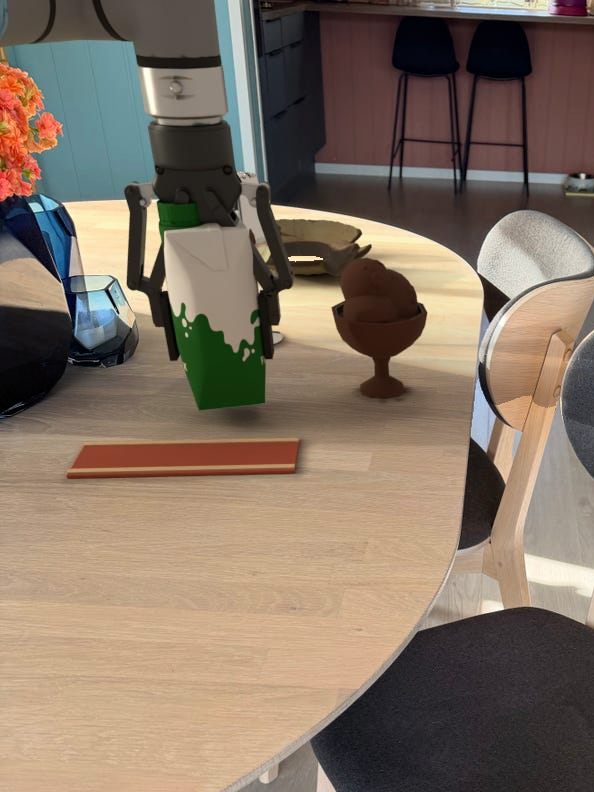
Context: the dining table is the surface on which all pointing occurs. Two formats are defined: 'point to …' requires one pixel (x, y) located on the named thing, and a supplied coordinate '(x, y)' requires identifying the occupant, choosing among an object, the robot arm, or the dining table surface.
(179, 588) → the dining table surface
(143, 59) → the robot arm
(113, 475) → the reddish-brown flat board
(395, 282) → the ice cream bowl
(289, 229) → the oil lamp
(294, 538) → the dining table surface
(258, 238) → the wineglass
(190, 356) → the soya milk
